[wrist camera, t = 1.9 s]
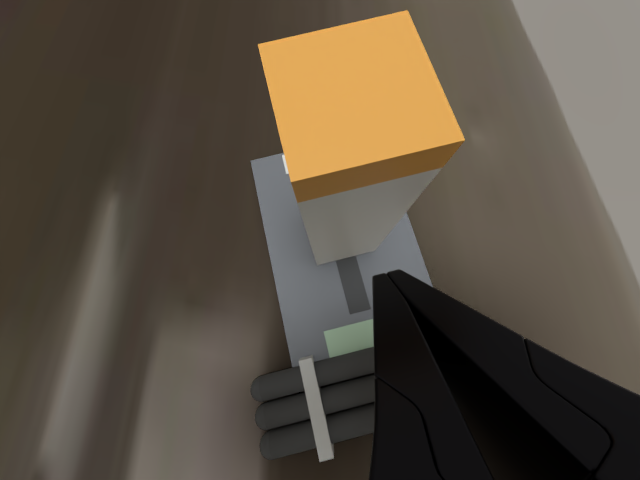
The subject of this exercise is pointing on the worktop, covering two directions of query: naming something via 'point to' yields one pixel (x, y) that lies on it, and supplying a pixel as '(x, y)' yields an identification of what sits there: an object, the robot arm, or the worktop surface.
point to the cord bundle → (315, 404)
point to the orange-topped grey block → (358, 128)
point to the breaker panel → (324, 273)
